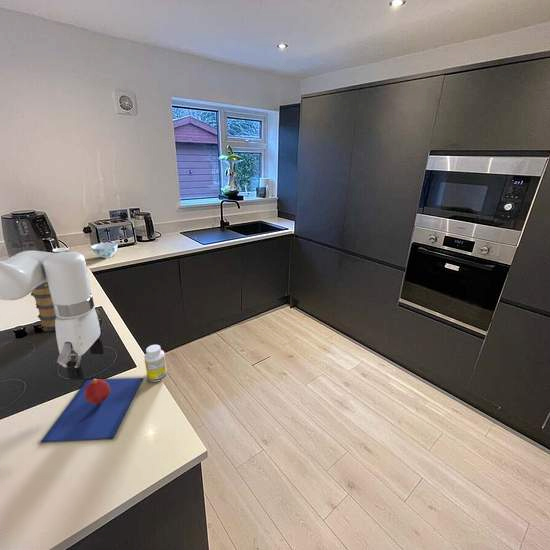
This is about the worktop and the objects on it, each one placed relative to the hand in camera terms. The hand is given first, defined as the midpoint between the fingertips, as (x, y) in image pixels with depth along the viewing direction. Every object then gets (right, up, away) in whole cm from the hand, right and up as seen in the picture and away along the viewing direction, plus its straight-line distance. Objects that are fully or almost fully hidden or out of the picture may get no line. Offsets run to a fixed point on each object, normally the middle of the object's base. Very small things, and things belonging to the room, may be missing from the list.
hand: (88, 365), depth 73 cm
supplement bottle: (+11, -8, +15) cm, 21 cm away
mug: (-37, +4, +42) cm, 56 cm away
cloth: (0, -12, +4) cm, 13 cm away
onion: (0, -12, +5) cm, 13 cm away
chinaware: (-65, +35, +119) cm, 140 cm away
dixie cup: (-79, +28, +99) cm, 130 cm away
